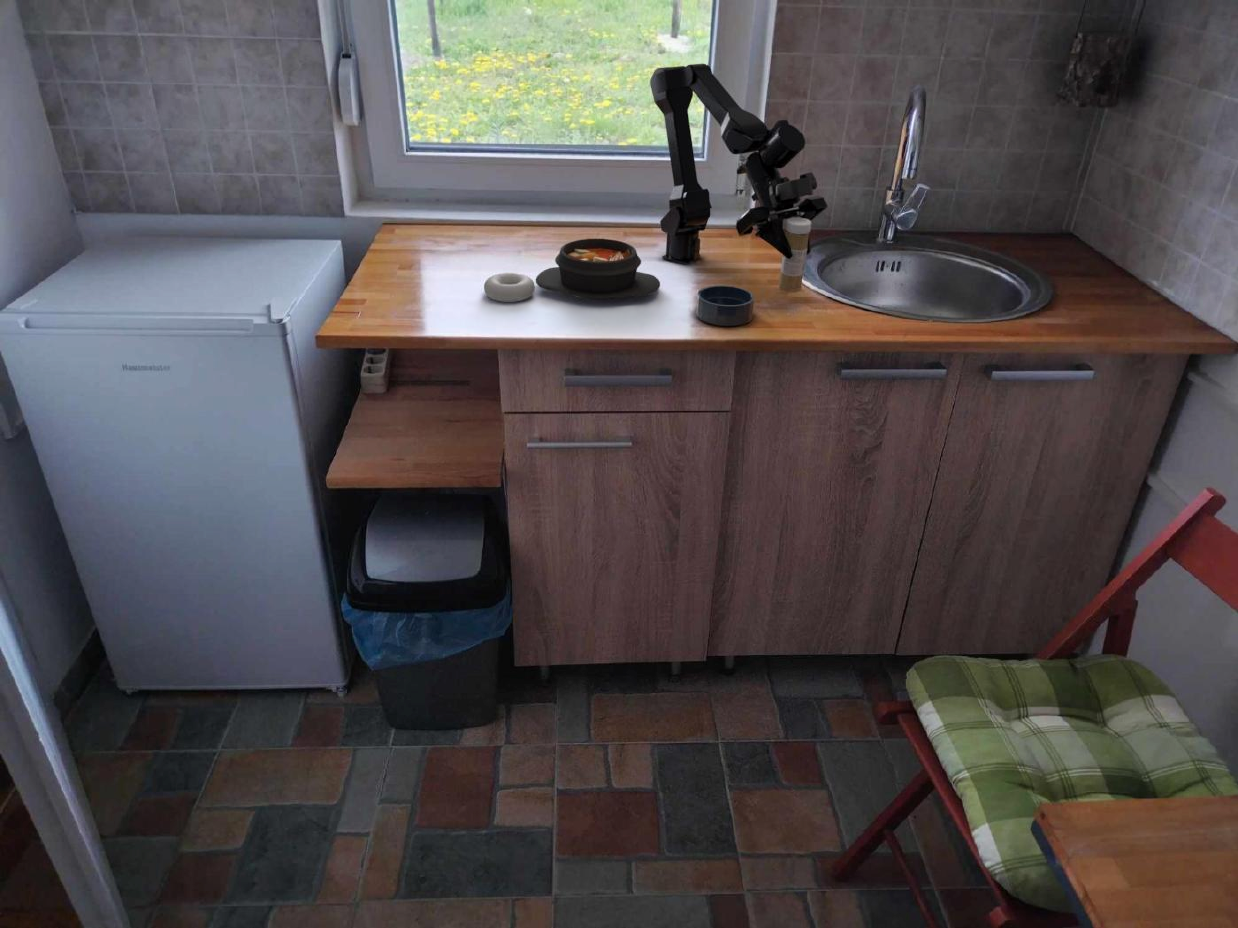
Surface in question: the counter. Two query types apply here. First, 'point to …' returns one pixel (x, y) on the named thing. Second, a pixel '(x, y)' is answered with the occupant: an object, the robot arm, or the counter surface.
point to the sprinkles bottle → (795, 254)
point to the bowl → (725, 305)
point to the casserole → (598, 271)
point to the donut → (509, 287)
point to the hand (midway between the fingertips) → (799, 255)
